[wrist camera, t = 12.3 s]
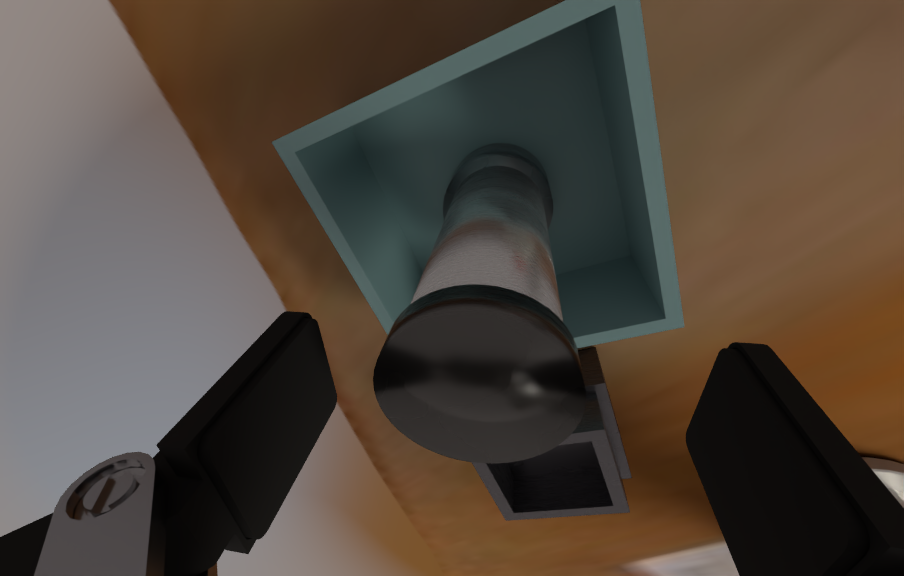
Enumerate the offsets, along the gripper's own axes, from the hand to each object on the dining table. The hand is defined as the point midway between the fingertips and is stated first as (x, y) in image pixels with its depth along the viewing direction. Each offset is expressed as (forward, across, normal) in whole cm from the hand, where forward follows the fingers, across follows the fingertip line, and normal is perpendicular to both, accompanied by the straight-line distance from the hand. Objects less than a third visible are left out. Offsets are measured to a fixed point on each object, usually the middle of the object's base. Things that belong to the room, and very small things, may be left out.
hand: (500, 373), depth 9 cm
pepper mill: (+12, +1, -1) cm, 12 cm away
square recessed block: (+13, -3, +15) cm, 20 cm away
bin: (+12, +1, -1) cm, 12 cm away
